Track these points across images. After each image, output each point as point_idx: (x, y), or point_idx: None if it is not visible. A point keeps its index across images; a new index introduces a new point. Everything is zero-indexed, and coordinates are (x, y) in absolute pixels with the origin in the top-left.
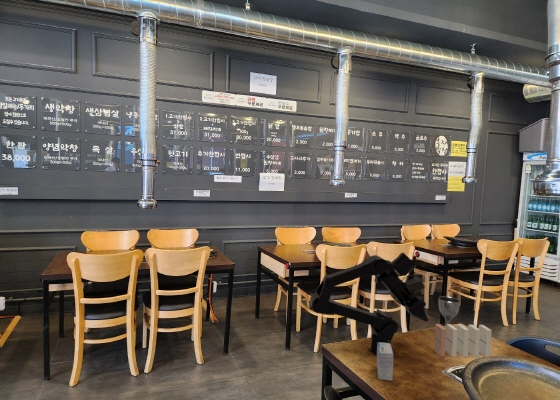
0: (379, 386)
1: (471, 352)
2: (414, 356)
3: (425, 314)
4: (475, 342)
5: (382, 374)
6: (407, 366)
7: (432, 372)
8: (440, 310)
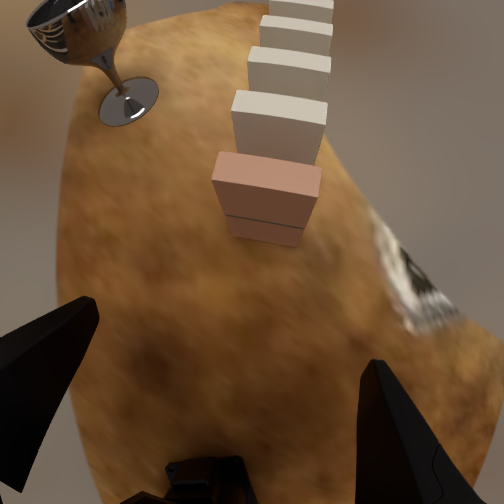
0: None
1: None
2: (275, 374)
3: (427, 431)
4: None
5: None
6: (349, 449)
7: (409, 374)
8: (70, 59)
